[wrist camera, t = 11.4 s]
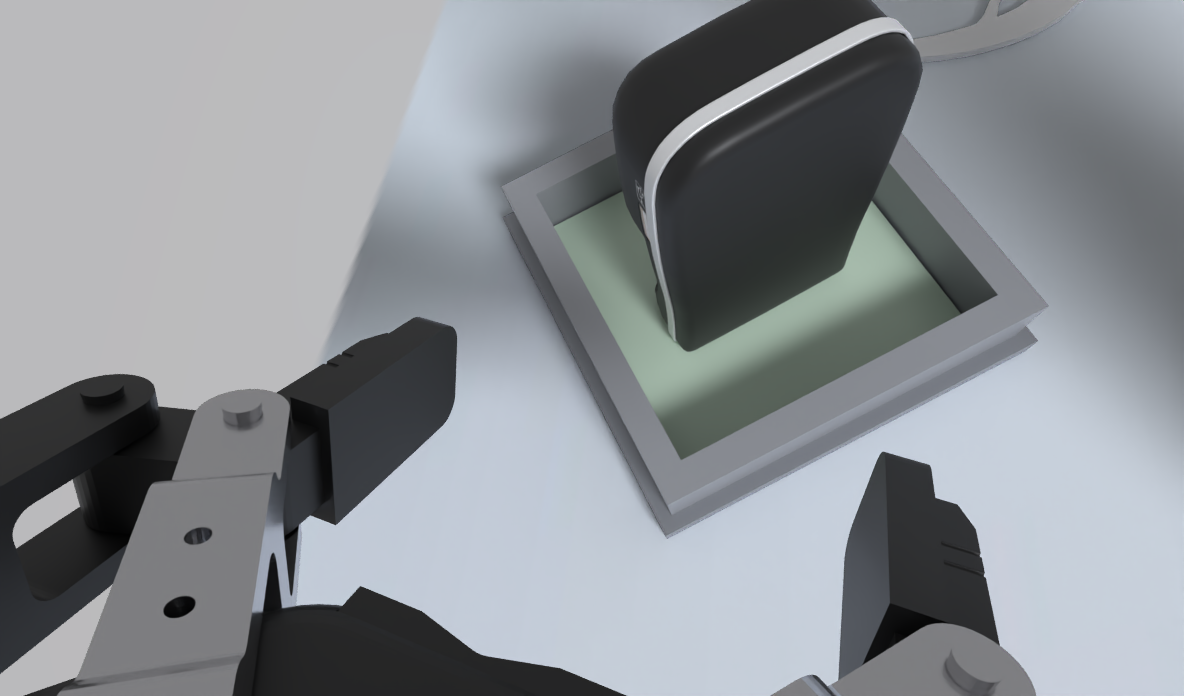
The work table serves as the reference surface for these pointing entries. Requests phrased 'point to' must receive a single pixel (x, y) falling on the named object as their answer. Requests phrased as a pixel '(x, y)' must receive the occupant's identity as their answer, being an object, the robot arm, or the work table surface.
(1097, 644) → the work table surface
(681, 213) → the battery charger
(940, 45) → the pliers
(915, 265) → the tray
